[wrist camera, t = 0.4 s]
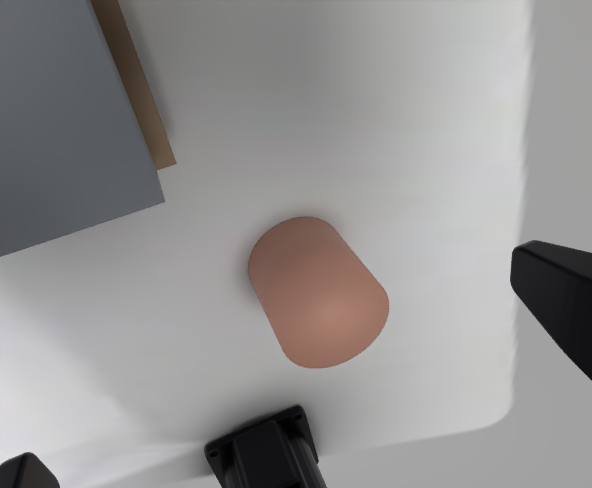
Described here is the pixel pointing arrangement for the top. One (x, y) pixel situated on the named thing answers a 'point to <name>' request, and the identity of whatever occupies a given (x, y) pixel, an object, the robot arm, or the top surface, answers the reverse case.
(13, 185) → the tower top
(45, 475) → the robot arm
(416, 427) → the top surface
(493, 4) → the top surface
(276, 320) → the brick cylinder
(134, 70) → the tower base
